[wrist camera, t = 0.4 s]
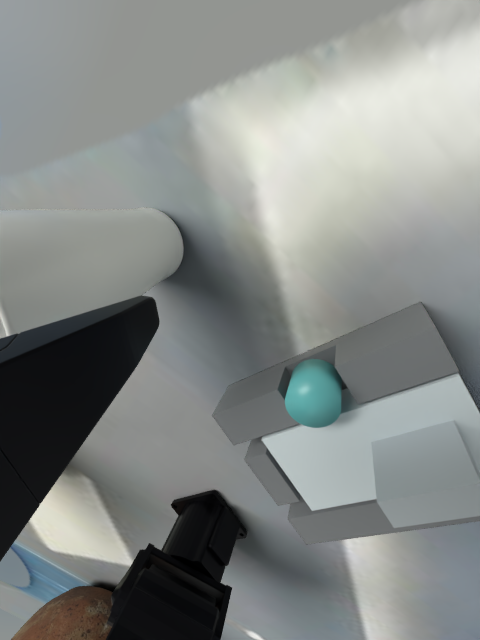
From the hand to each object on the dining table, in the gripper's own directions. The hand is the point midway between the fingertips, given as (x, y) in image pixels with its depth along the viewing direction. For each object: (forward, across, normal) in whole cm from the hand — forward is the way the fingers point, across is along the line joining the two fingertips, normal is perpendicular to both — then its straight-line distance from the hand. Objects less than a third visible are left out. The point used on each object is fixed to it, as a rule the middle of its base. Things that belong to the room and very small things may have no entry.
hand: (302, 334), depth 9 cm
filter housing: (+12, -3, +16) cm, 20 cm away
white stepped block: (+11, -4, +15) cm, 19 cm away
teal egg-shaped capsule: (+10, 0, +11) cm, 15 cm away
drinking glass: (+13, +14, +3) cm, 19 cm away
